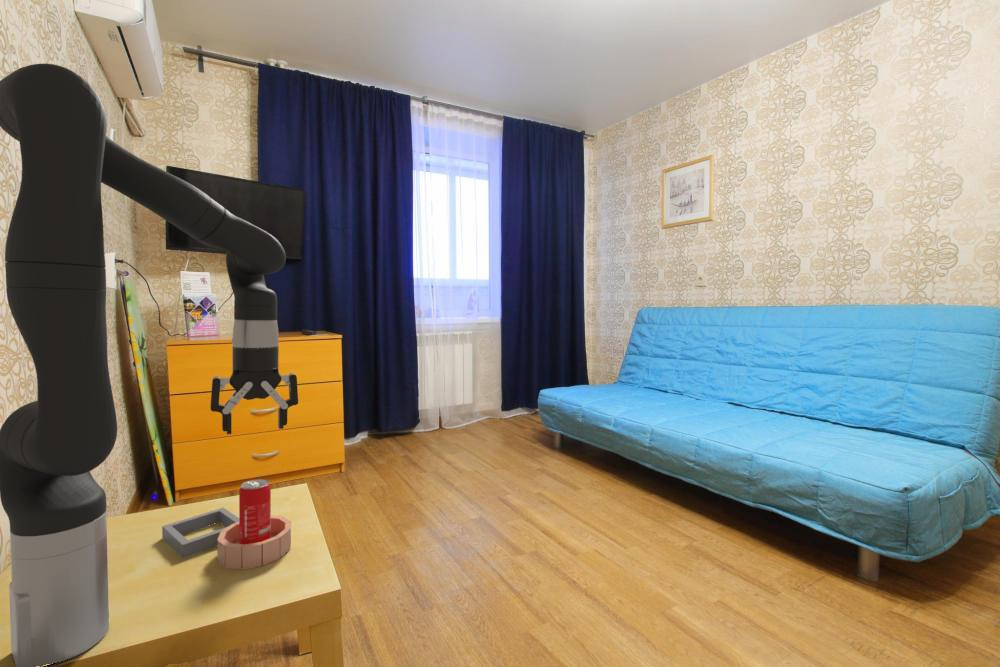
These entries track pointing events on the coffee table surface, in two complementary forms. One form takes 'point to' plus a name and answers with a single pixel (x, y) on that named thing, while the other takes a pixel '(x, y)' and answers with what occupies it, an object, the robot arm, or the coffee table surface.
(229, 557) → the bowl
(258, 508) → the beverage can
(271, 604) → the coffee table surface
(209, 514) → the rectangular frame
